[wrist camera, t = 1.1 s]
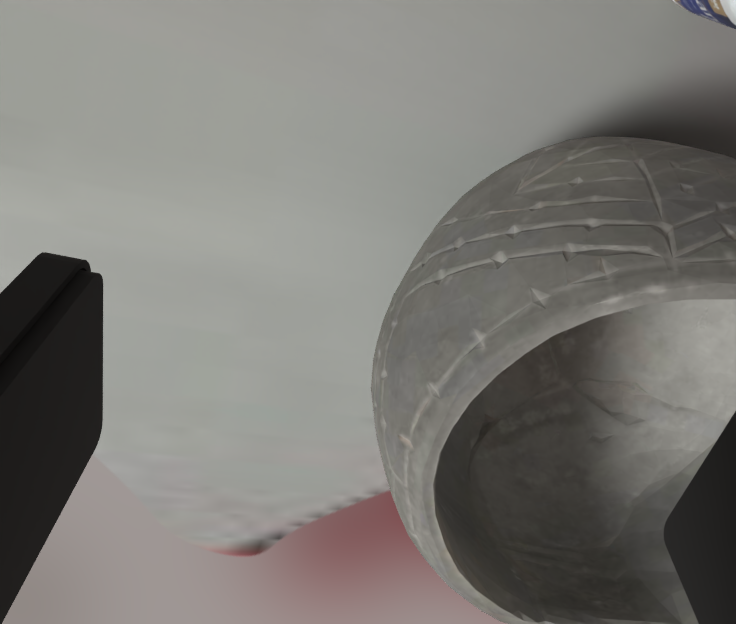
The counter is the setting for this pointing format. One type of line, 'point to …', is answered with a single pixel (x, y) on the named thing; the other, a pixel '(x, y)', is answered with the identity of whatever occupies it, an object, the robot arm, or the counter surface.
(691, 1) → the pill bottle
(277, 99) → the counter surface
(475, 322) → the bowl
